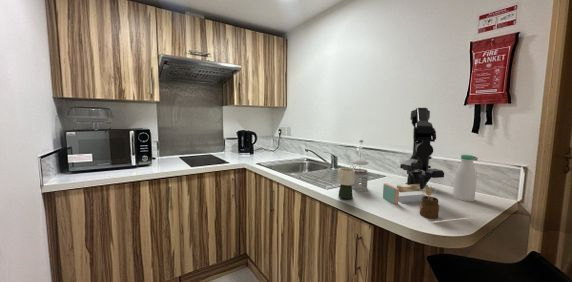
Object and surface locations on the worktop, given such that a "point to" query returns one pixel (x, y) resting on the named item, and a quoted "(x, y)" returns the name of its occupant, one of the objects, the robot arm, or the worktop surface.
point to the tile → (391, 193)
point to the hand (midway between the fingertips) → (419, 188)
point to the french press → (360, 175)
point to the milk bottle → (465, 179)
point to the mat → (411, 198)
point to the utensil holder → (429, 205)
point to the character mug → (346, 182)
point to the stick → (411, 188)
